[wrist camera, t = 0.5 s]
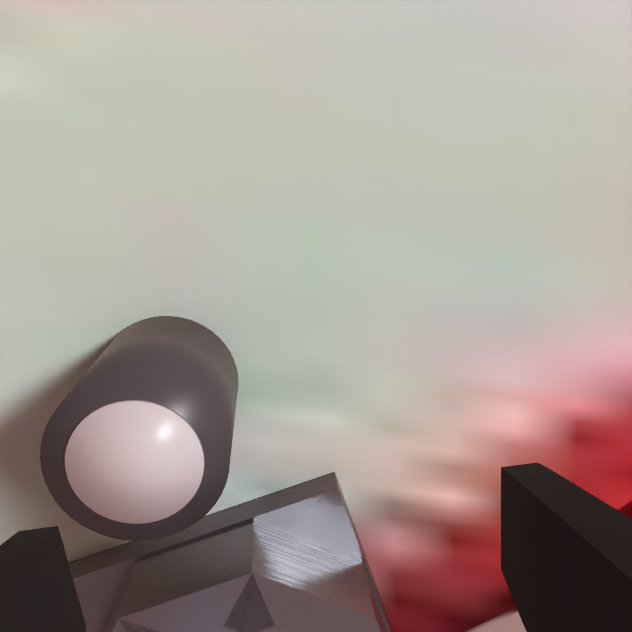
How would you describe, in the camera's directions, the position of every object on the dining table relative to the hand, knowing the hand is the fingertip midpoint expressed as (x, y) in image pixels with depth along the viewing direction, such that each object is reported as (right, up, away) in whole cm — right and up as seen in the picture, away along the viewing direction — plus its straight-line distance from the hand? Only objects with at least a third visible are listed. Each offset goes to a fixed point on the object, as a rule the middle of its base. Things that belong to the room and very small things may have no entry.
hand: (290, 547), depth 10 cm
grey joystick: (-2, -8, +12) cm, 14 cm away
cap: (-4, +2, +9) cm, 10 cm away
